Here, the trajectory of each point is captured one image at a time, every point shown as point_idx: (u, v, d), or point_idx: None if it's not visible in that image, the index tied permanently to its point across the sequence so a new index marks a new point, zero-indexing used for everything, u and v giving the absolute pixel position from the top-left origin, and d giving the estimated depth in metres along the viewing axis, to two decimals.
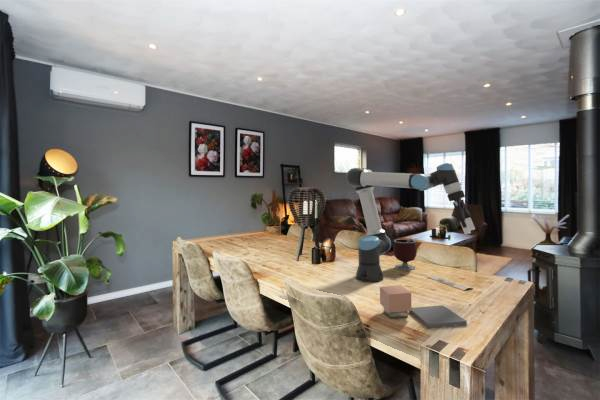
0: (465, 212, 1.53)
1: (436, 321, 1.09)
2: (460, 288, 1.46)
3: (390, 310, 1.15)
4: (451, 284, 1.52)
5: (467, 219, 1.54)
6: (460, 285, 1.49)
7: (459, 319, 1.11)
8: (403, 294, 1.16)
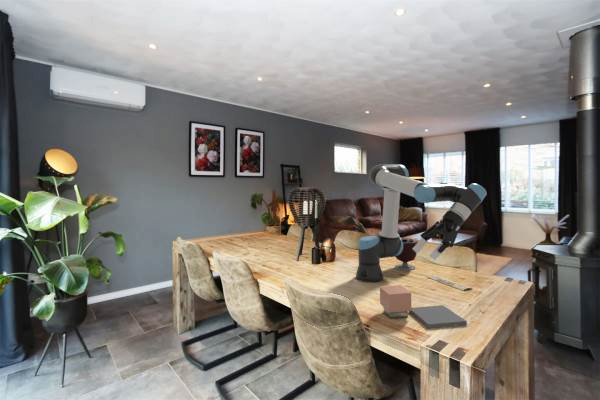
0: (432, 235, 1.27)
1: (436, 321, 1.09)
2: (459, 288, 1.46)
3: (390, 310, 1.15)
4: (450, 284, 1.52)
5: (423, 240, 1.28)
6: (459, 285, 1.49)
7: (459, 319, 1.11)
8: (403, 294, 1.16)
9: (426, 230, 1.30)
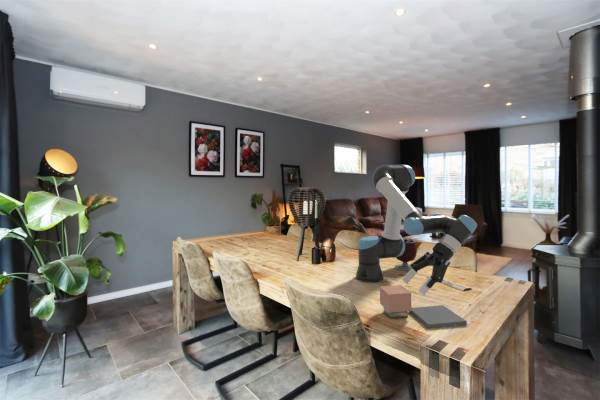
0: (422, 266, 1.25)
1: (436, 321, 1.09)
2: (459, 288, 1.46)
3: (390, 310, 1.15)
4: (450, 284, 1.52)
5: (413, 271, 1.26)
6: (459, 285, 1.49)
7: (459, 319, 1.11)
8: (403, 294, 1.16)
9: (416, 260, 1.29)
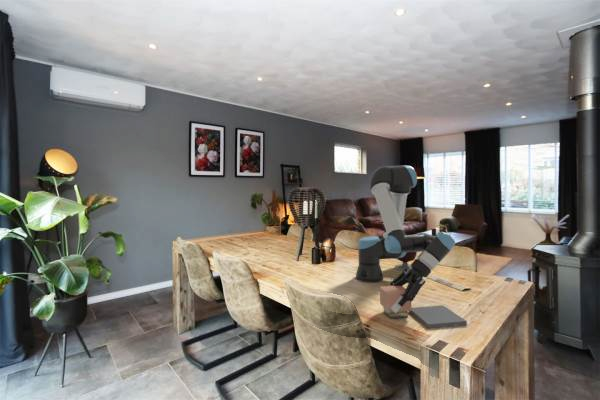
0: (401, 284, 1.24)
1: (436, 321, 1.09)
2: (458, 288, 1.46)
3: (390, 310, 1.15)
4: (449, 284, 1.51)
5: None
6: (458, 285, 1.48)
7: (459, 319, 1.11)
8: (403, 294, 1.16)
9: (395, 278, 1.28)
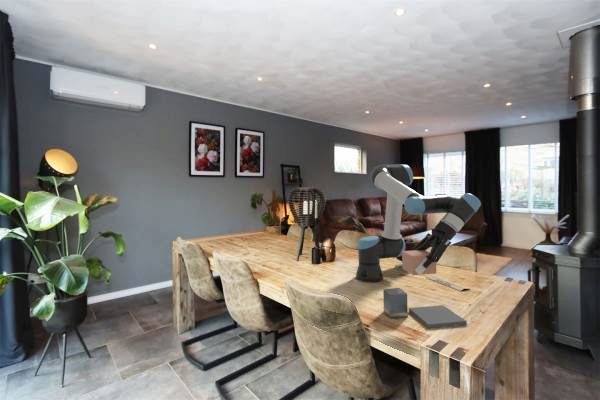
0: (424, 248, 1.20)
1: (436, 321, 1.09)
2: (457, 289, 1.46)
3: (414, 272, 1.11)
4: (448, 284, 1.51)
5: None
6: (457, 286, 1.48)
7: (459, 319, 1.11)
8: None
9: None
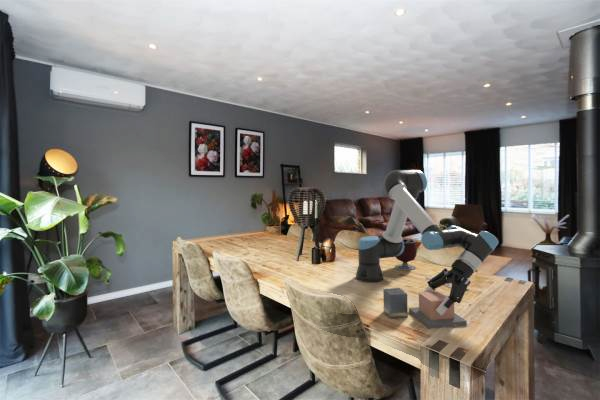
0: (440, 284, 1.20)
1: (436, 321, 1.09)
2: None
3: (432, 317, 1.11)
4: (447, 285, 1.51)
5: (430, 289, 1.22)
6: None
7: (459, 319, 1.11)
8: None
9: None
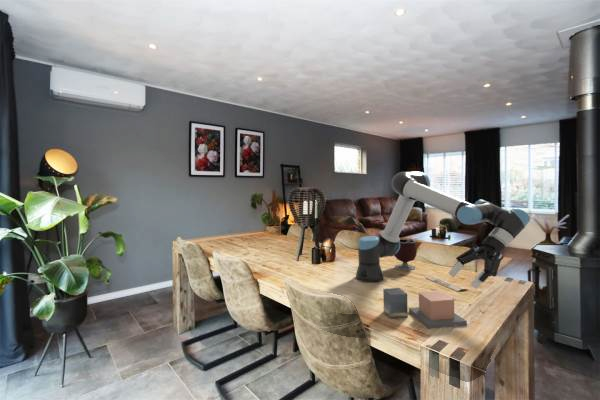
0: (469, 260, 1.23)
1: (436, 321, 1.09)
2: (454, 289, 1.45)
3: (432, 317, 1.11)
4: (446, 285, 1.51)
5: (460, 264, 1.24)
6: (455, 286, 1.48)
7: (459, 319, 1.11)
8: (446, 301, 1.11)
9: (463, 253, 1.26)
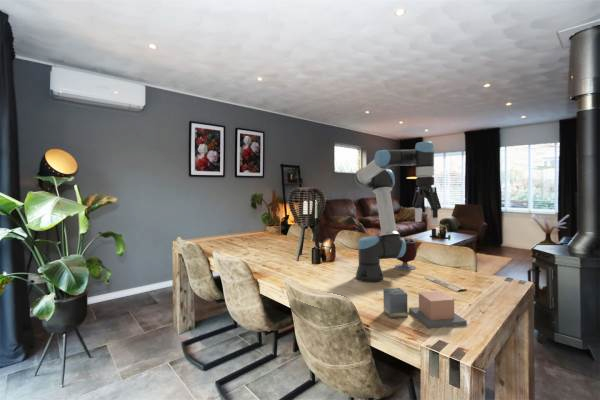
0: (420, 201, 1.39)
1: (436, 321, 1.09)
2: (453, 289, 1.45)
3: (432, 317, 1.11)
4: (445, 285, 1.51)
5: (418, 209, 1.40)
6: (454, 286, 1.48)
7: (459, 319, 1.11)
8: (446, 301, 1.11)
9: (413, 199, 1.42)
